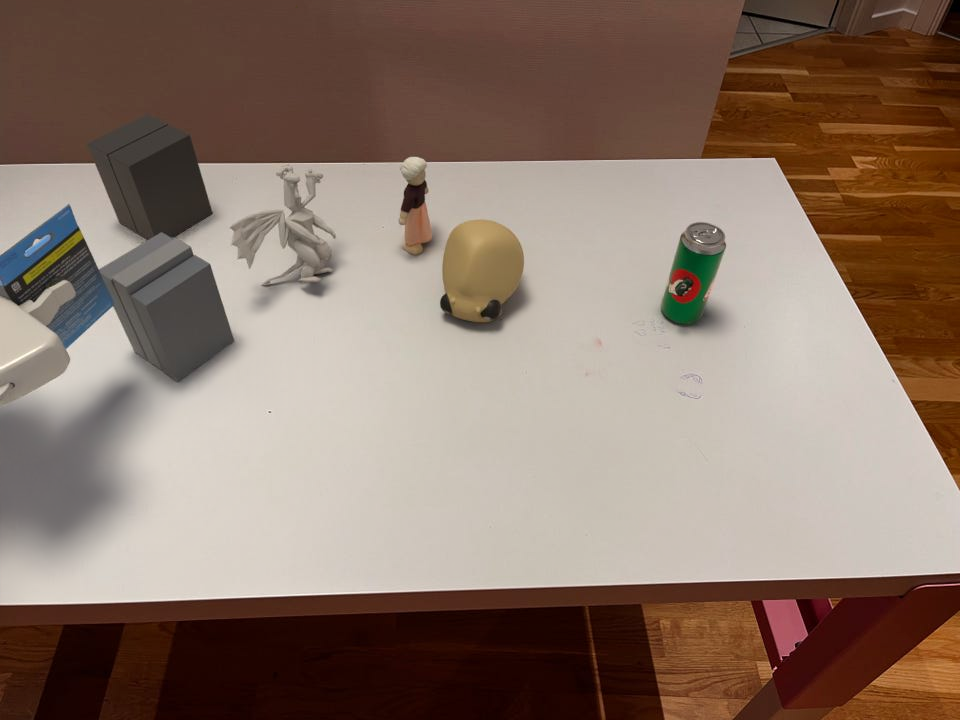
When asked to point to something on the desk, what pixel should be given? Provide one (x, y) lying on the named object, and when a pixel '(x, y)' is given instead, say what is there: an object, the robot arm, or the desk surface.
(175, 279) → the grey upright block
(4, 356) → the robot arm
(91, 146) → the dark grey block
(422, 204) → the grandmother figurine
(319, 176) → the dragon figurine
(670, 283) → the soda can
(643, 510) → the desk surface
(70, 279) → the blue retail box
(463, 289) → the tan toy animal
